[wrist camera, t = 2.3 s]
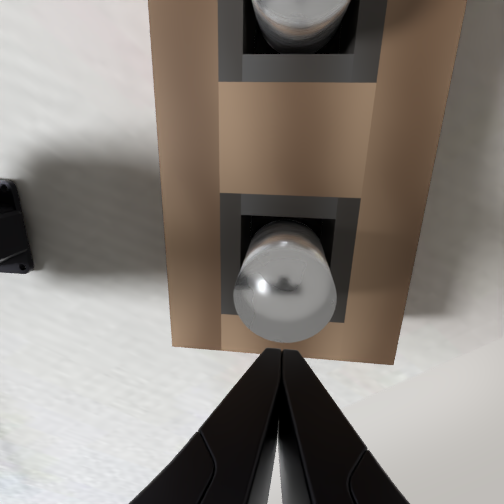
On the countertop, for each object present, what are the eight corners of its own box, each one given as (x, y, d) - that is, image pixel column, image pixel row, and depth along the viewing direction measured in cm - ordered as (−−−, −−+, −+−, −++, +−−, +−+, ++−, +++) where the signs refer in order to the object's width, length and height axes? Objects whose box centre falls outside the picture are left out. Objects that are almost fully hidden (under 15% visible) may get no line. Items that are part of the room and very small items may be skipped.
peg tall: (247, 286, 17) (233, 338, 13) (248, 217, 16) (233, 247, 11) (319, 291, 17) (331, 346, 12) (326, 220, 16) (342, 253, 11)
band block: (196, 303, 23) (172, 346, 18) (180, -102, 15) (133, -209, 11) (370, 316, 22) (393, 365, 17) (440, -115, 14) (515, -240, 10)
